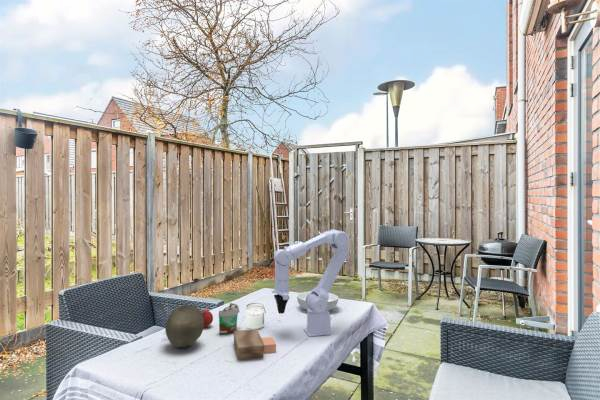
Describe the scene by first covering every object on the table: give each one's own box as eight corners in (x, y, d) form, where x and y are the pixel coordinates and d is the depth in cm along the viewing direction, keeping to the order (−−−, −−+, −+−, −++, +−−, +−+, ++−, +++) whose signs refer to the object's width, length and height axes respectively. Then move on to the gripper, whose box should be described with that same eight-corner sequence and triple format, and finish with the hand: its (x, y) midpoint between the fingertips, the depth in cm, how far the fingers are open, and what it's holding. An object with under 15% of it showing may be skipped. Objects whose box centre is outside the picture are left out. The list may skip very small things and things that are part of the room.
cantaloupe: (155, 350, 130) (156, 308, 130) (182, 337, 143) (182, 299, 143) (187, 357, 124) (188, 314, 124) (212, 343, 138) (212, 303, 138)
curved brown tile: (256, 341, 140) (257, 329, 140) (264, 359, 125) (264, 345, 125) (233, 343, 138) (233, 330, 138) (238, 361, 122) (238, 347, 122)
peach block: (271, 344, 137) (271, 336, 137) (275, 352, 130) (276, 344, 130) (245, 347, 134) (245, 339, 134) (248, 355, 128) (248, 346, 128)
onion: (205, 330, 150) (205, 311, 150) (195, 327, 153) (196, 309, 153) (215, 326, 155) (216, 308, 155) (206, 324, 158) (206, 305, 158)
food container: (232, 337, 143) (232, 312, 143) (217, 336, 145) (218, 311, 145) (243, 327, 156) (243, 303, 156) (229, 325, 157) (230, 302, 157)
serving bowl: (340, 316, 172) (340, 302, 172) (296, 315, 172) (296, 301, 172) (336, 304, 193) (336, 291, 193) (297, 303, 193) (297, 290, 193)
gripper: (268, 276, 152) (267, 308, 152) (276, 284, 138) (275, 319, 138) (284, 275, 154) (284, 307, 154) (294, 283, 140) (293, 318, 140)
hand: (281, 313), depth 146 cm, fingers closed
